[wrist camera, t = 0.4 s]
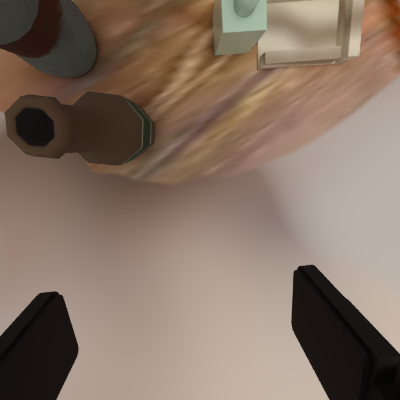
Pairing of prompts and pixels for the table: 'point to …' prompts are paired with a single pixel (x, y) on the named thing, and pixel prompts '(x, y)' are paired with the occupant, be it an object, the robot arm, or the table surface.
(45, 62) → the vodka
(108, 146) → the beer bottle
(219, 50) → the bottle
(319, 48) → the cradle
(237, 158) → the table surface
